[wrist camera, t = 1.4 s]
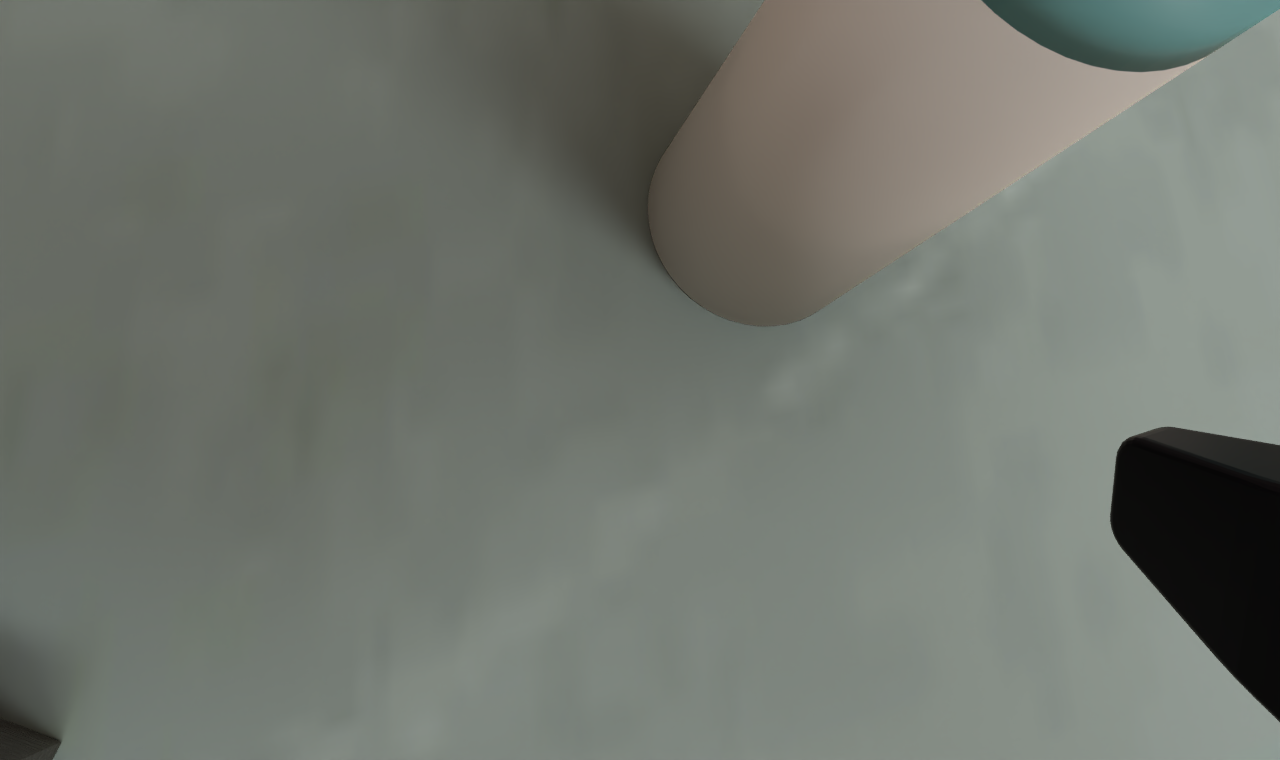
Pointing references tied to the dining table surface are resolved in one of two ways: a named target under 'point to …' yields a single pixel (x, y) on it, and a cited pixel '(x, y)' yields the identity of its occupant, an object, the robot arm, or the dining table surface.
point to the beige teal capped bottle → (893, 130)
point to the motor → (25, 743)
